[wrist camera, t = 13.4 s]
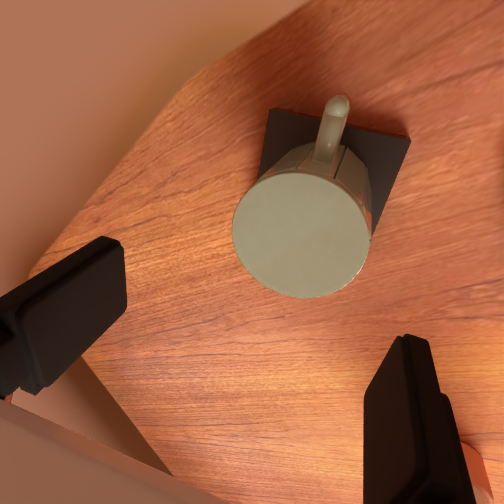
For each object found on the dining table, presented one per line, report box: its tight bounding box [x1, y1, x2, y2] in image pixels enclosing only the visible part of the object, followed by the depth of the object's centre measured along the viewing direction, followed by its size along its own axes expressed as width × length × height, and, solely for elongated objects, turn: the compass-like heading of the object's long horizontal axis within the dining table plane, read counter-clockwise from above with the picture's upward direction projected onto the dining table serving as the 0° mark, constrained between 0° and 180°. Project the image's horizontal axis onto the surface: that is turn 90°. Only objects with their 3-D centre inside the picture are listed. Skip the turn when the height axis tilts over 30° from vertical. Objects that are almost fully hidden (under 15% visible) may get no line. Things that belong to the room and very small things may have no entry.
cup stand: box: [257, 108, 411, 238], centre depth 20 cm, size 9×9×8 cm
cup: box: [232, 93, 372, 298], centre depth 18 cm, size 7×10×8 cm
